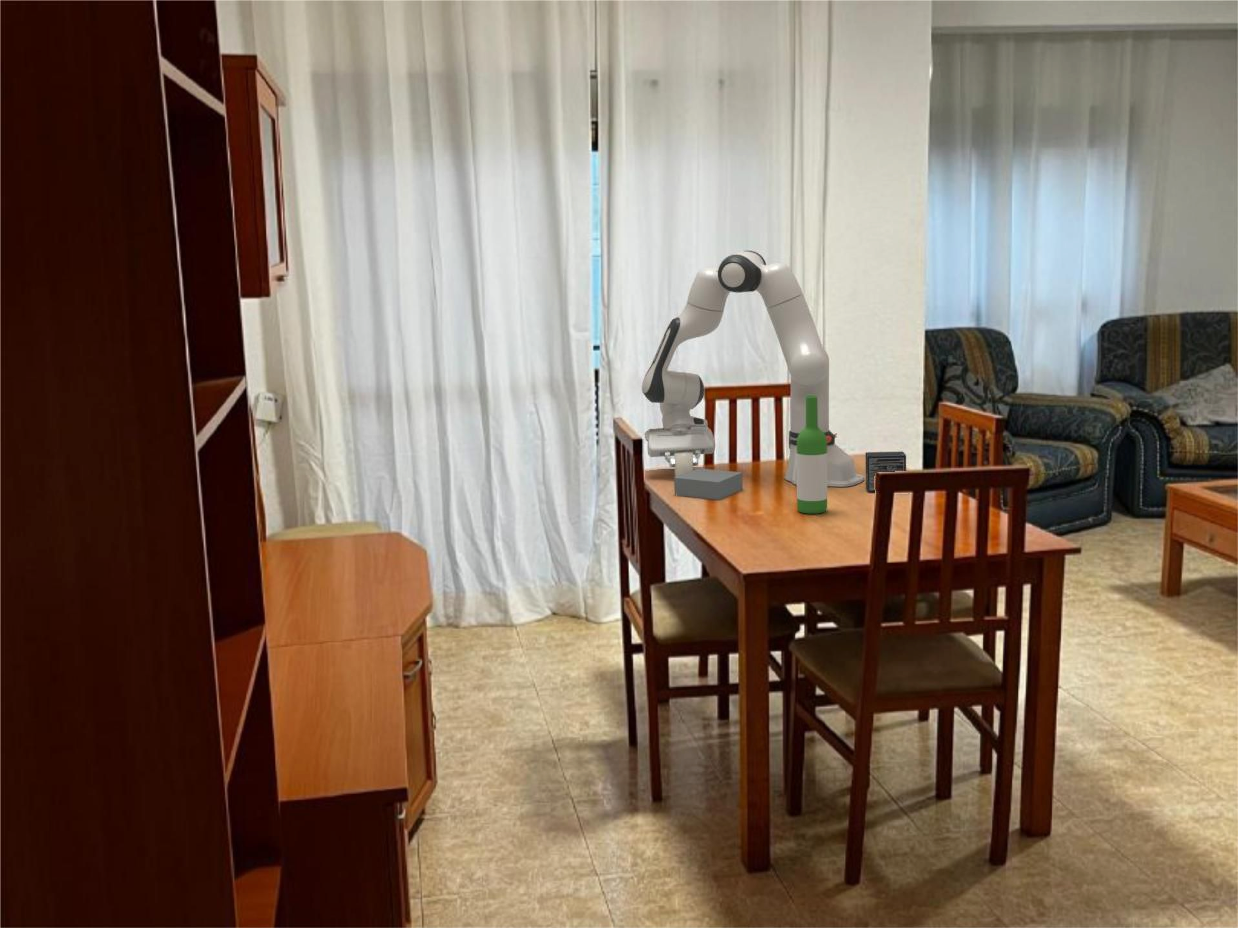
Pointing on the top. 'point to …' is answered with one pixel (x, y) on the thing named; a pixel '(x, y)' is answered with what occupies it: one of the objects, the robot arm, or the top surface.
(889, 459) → the small box
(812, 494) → the wine bottle
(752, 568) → the top surface
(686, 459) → the cylinder
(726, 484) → the plinth
